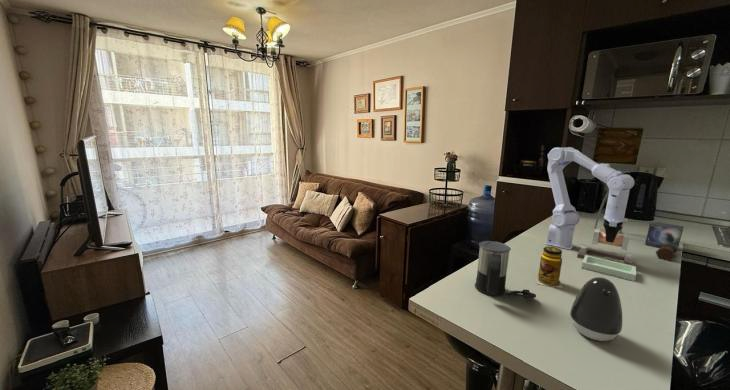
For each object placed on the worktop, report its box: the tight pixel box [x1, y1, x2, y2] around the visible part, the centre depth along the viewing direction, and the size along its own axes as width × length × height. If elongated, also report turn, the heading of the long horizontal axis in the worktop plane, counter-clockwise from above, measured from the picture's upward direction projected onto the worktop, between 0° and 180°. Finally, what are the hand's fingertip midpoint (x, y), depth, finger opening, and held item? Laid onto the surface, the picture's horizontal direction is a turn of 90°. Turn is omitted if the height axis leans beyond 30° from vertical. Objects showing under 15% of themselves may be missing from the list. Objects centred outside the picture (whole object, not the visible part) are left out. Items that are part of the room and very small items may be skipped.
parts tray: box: [581, 255, 637, 282], centre depth 110 cm, size 15×9×2 cm, turn 49°
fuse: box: [592, 228, 630, 251], centre depth 115 cm, size 10×5×5 cm, turn 50°
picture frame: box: [644, 220, 684, 251], centre depth 133 cm, size 11×6×10 cm, turn 41°
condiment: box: [533, 245, 564, 289], centre depth 100 cm, size 7×8×12 cm
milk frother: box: [474, 240, 537, 299], centre depth 92 cm, size 14×16×15 cm
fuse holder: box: [576, 243, 634, 266], centre depth 119 cm, size 17×11×4 cm, turn 49°
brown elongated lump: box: [655, 243, 678, 262], centre depth 124 cm, size 6×5×15 cm
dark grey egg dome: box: [569, 276, 623, 342], centre depth 73 cm, size 10×10×15 cm
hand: (609, 240), depth 116 cm, fingers closed on fuse, 4 cm apart
